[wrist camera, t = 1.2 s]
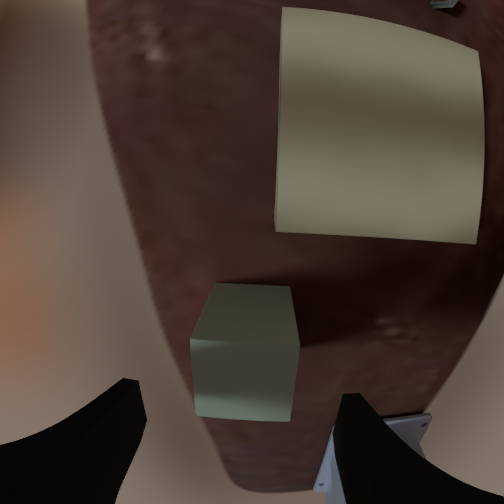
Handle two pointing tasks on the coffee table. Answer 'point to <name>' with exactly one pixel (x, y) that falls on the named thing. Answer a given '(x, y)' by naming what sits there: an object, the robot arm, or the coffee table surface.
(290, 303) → the sage block
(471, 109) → the beige flat square block
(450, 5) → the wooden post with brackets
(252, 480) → the coffee table surface
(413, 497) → the robot arm
